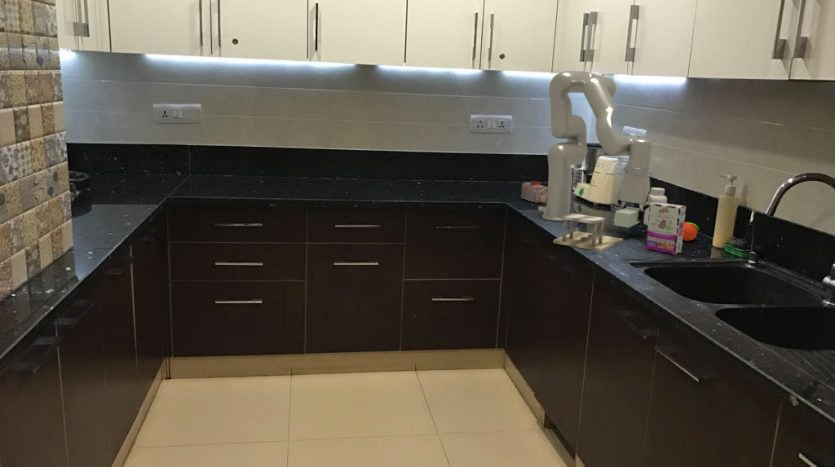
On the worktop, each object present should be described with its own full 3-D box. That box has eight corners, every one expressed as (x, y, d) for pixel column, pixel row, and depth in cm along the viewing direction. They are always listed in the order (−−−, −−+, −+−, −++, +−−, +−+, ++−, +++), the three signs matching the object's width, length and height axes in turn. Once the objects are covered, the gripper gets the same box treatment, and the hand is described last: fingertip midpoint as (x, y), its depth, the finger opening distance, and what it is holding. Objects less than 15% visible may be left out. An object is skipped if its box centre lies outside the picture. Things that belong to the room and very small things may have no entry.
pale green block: (613, 224, 258) (615, 211, 256) (626, 219, 268) (628, 206, 267) (628, 227, 254) (630, 214, 253) (640, 221, 265) (642, 209, 263)
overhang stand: (553, 242, 249) (555, 215, 247) (576, 233, 265) (578, 207, 262) (601, 251, 238) (604, 222, 236) (622, 241, 254) (625, 214, 252)
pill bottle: (667, 227, 281) (671, 190, 277) (647, 226, 280) (651, 189, 277) (660, 223, 288) (663, 187, 285) (640, 222, 288) (644, 186, 285)
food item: (549, 203, 326) (551, 182, 324) (536, 205, 322) (537, 183, 320) (531, 199, 338) (532, 178, 335) (518, 200, 334) (519, 179, 331)
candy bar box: (681, 253, 239) (687, 205, 236) (675, 255, 236) (680, 207, 232) (651, 246, 247) (656, 201, 243) (644, 249, 244) (649, 202, 240)
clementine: (702, 241, 257) (704, 222, 256) (693, 244, 253) (695, 225, 251) (681, 237, 263) (683, 219, 261) (672, 240, 258) (674, 221, 257)
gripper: (611, 169, 261) (605, 217, 266) (657, 176, 252) (650, 225, 256) (619, 167, 267) (613, 214, 272) (664, 174, 258) (657, 221, 262)
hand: (631, 218), depth 264 cm, fingers closed on pale green block, 5 cm apart
